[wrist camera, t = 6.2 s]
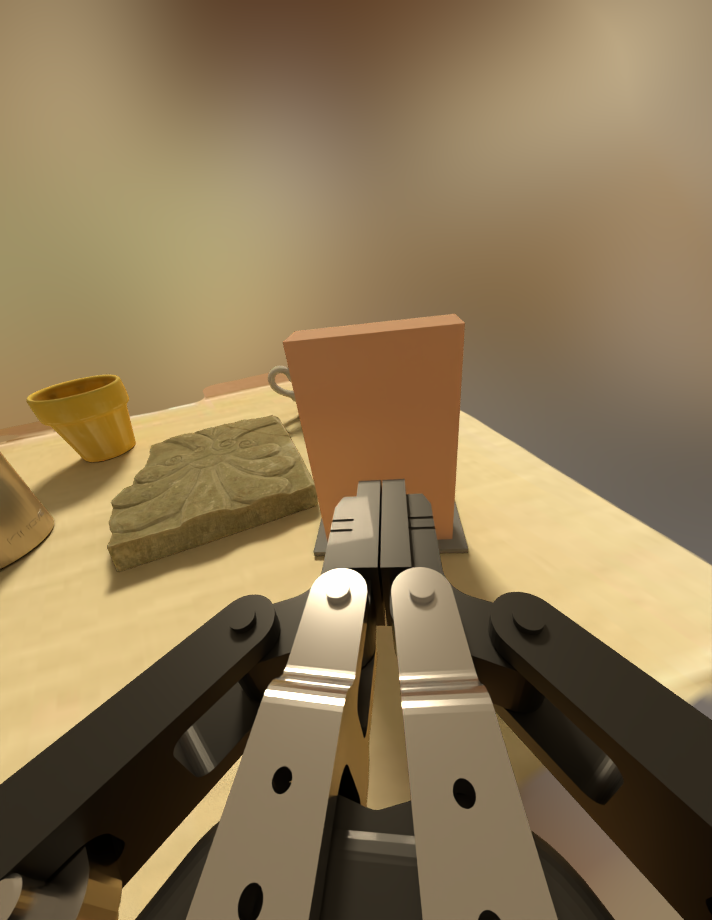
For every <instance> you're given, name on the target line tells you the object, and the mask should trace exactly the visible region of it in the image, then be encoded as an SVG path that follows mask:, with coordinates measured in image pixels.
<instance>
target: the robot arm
mask: <svg viewBox="0 0 712 920" xmlns="http://www.w3.org/2000/svg"><path fill="white" fill-rule="evenodd" d="M53 526H54V519H53V517H52V516H51V515H50V514H49V512H48V511H47V510H46V509H45V507H44V506H43V505H42V504H41V502H40V501H39V500H38V499H37V497H36V496H35V495H34V494H33V492H32V491H31V490H30V488H29V487H28V486H27V485H26V483H25V482H24V481H23V480H22V478H21V477H20V476H19V475H18V473H17V472H16V471H15V470H14V468H13V467H12V466H11V465H10V463H9V462H8V461H7V460H6V458H5V457H4V456H3V455H2V453H1V452H0V569H1V568H3V567H5V566H7V565H9V564H10V563H12V562H14V561H16V560H17V559H19V558H20V557H22V556H24V555H25V554H27V553H28V552H29V551H31V550H32V549H33V548H35V547H36V546H37V545H38V544H39V543H40V542H42V541H43V540H44V539H45V538H46V536H47V535H48V534H49V533H50V532H51V530H52V528H53ZM385 610H386V618H387V626H392V631H393V640H394V649H395V653H396V655H397V658H398V668H399V678H400V689H401V700H402V711H403V721H404V731H405V742H406V752H407V762H408V773H409V783H410V793H411V801H408V802H405V803H402V804H398V805H395V806H392V807H388V808H385V809H381V810H372V809H369V808H367V797H368V785H369V740H370V729H371V718H372V708H373V698H374V688H375V678H376V667H377V655H378V653H377V647H376V625H377V626H385ZM495 712H496V713H497V714H498V715H499V716H500V717H501V718H502V719H503V721H504V722H505V723H506V724H507V725H508V726H509V727H510V728H511V729H512V730H513V732H514V733H515V734H516V735H517V736H518V737H519V738H520V739H521V740H522V741H523V743H524V744H525V745H526V746H527V747H528V748H529V749H530V750H531V751H532V753H533V754H534V755H535V756H536V757H537V758H538V759H539V760H540V761H541V762H542V764H543V765H544V766H545V767H546V768H547V769H548V770H549V771H550V772H551V773H552V775H553V776H554V777H555V778H556V779H557V780H558V781H559V782H560V783H561V784H562V786H563V787H564V788H565V789H566V790H567V791H568V792H569V793H570V794H571V795H572V797H573V798H574V799H575V800H576V801H577V802H578V803H579V804H580V805H581V807H582V808H583V809H584V810H585V811H586V812H587V813H588V814H589V815H590V816H591V818H592V819H593V820H594V821H595V822H596V823H597V824H598V825H599V826H600V827H601V829H602V830H603V831H604V832H605V833H606V834H607V835H608V836H609V837H610V838H611V839H612V841H613V842H615V844H616V845H617V846H618V847H619V848H620V849H621V851H623V853H624V854H625V855H626V856H627V857H628V858H629V859H630V861H631V862H632V863H633V864H634V865H635V866H636V867H637V868H638V869H639V870H640V872H641V873H642V874H643V875H644V876H645V877H646V878H647V879H648V880H649V881H650V883H651V884H652V885H653V886H654V887H655V888H656V889H657V890H658V891H659V893H660V894H661V895H662V896H663V897H664V898H665V899H666V900H667V901H668V902H669V904H670V905H671V906H672V907H673V908H674V909H675V910H676V911H677V912H678V913H679V915H680V916H681V917H682V918H683V919H684V920H712V720H711V719H709V718H708V717H706V716H705V715H704V714H702V713H701V712H700V711H698V710H697V709H695V708H694V707H693V706H691V705H690V704H688V703H687V702H686V701H684V700H683V699H681V698H680V697H679V696H677V695H676V694H674V693H673V692H672V691H670V690H669V689H667V688H666V687H665V686H663V685H662V684H660V683H659V682H658V681H656V680H655V679H654V678H652V677H651V676H649V675H648V674H647V673H645V672H644V671H642V670H641V669H640V668H638V667H637V666H635V665H634V664H633V663H631V662H630V661H628V660H627V659H626V658H624V657H623V656H621V655H620V654H619V653H617V652H616V651H614V650H613V649H612V648H610V647H609V646H607V645H606V644H605V643H603V642H602V641H600V640H599V639H598V638H596V637H595V636H593V635H592V634H591V633H589V632H588V631H586V630H585V629H584V628H582V627H581V626H579V625H578V624H577V623H575V622H574V621H572V620H571V619H570V618H568V617H567V616H565V615H564V614H563V613H561V612H560V611H558V610H557V609H556V608H554V607H553V606H551V605H550V604H549V603H547V602H546V601H544V600H543V599H541V598H539V597H537V596H534V595H531V594H528V593H523V592H510V593H506V594H503V595H501V596H500V597H498V598H497V599H496V600H495V601H494V603H492V602H489V601H485V600H482V599H478V598H475V597H471V596H469V595H466V594H464V593H462V592H460V591H459V590H457V589H456V588H455V587H453V586H452V585H451V584H450V583H449V582H448V580H447V579H446V577H445V575H444V573H443V570H442V565H441V559H440V553H439V547H438V542H437V536H436V530H435V524H434V519H433V513H432V507H431V503H430V502H429V501H428V500H427V498H426V497H425V496H424V495H423V494H422V493H421V494H406V489H405V479H388V480H382V483H381V480H367V481H359V482H358V489H357V496H353V497H343V498H342V500H341V501H340V502H339V503H338V505H337V506H336V507H335V511H334V515H333V522H332V525H331V532H330V534H329V539H328V544H327V549H326V554H325V558H324V563H323V568H322V572H321V575H320V577H319V578H318V579H317V580H316V581H315V582H314V584H313V585H312V587H311V588H310V589H309V590H308V591H306V592H305V593H303V594H301V595H299V596H297V597H294V598H291V599H288V600H284V601H281V602H278V603H275V604H272V602H271V601H270V600H269V599H268V598H266V597H264V596H261V595H248V596H244V597H241V598H239V599H237V600H235V601H233V602H232V603H230V604H229V605H228V606H227V607H225V608H224V609H223V610H221V611H220V612H219V613H218V614H216V615H215V616H214V617H213V618H211V619H210V620H209V621H207V622H206V623H205V624H204V625H202V626H201V627H200V628H199V629H197V630H196V631H195V632H194V633H192V634H191V635H190V636H188V637H187V638H186V639H185V640H183V641H182V642H181V643H180V644H178V645H177V646H176V647H174V648H173V649H172V650H171V651H169V652H168V653H167V654H166V655H164V656H163V657H162V658H160V659H159V660H158V661H157V662H155V663H154V664H153V665H152V666H150V667H149V668H148V669H147V670H145V671H144V672H143V673H141V674H140V675H139V676H138V677H136V678H135V679H134V680H133V681H131V682H130V683H129V684H127V685H126V686H125V687H124V688H122V689H121V690H120V691H119V692H117V693H116V694H115V695H114V696H112V697H111V698H110V699H108V700H107V701H106V702H105V703H103V704H102V705H101V706H100V707H98V708H97V709H96V710H94V711H93V712H92V713H91V714H89V715H88V716H87V717H86V718H84V719H83V720H82V721H80V722H79V723H78V724H77V725H75V726H74V727H73V728H72V729H70V730H69V731H68V732H67V733H65V734H64V735H63V736H61V737H60V738H59V739H58V740H56V741H55V742H54V743H53V744H51V745H50V746H49V747H47V748H46V749H45V750H44V751H42V752H41V753H40V754H39V755H37V756H36V757H35V758H33V759H32V760H31V761H30V762H28V763H27V764H26V765H25V766H23V767H22V768H21V769H20V770H18V771H17V772H16V773H14V774H13V775H12V776H11V777H9V778H8V779H7V780H6V781H4V782H3V783H2V784H0V920H118V917H119V911H118V910H119V906H120V901H121V894H122V888H123V887H124V886H125V885H126V884H127V883H128V882H129V880H130V879H131V878H132V877H133V876H134V875H135V874H136V873H137V872H138V870H139V869H140V868H141V867H142V866H143V865H144V864H145V863H146V861H147V860H148V859H149V858H150V857H151V856H152V855H153V854H154V853H155V851H156V850H157V849H158V848H159V847H160V846H161V845H162V844H163V843H164V841H165V840H166V839H167V838H168V837H169V836H170V835H171V834H172V833H173V831H174V830H175V829H176V828H177V827H178V826H179V825H180V824H181V823H182V821H183V820H184V819H185V818H186V817H187V816H188V815H189V814H190V812H191V811H192V810H193V809H194V808H195V807H196V806H197V805H198V804H199V802H200V801H201V800H202V799H203V798H204V797H205V796H206V795H207V794H208V792H209V791H210V790H211V789H212V788H213V787H214V786H215V785H216V784H217V782H218V781H219V780H220V779H221V778H222V777H223V776H224V775H225V773H226V772H227V771H228V770H229V769H230V768H231V767H232V766H233V765H234V763H235V762H236V761H237V760H238V759H239V758H240V757H241V756H242V755H243V756H242V759H241V762H240V765H239V767H238V770H237V773H236V776H235V779H234V782H233V785H232V788H231V791H230V793H229V796H228V799H227V802H226V805H225V808H224V811H223V814H222V816H221V819H220V821H219V822H218V823H217V824H216V825H214V826H213V827H212V828H211V829H210V830H209V831H208V832H207V833H206V834H205V835H204V836H203V837H202V838H201V839H200V840H199V841H198V842H197V844H196V845H195V846H194V847H193V848H192V850H191V851H190V852H189V853H188V854H187V856H186V857H185V858H184V859H183V861H182V862H181V863H180V864H179V866H178V867H177V868H176V869H175V871H174V872H173V873H172V874H171V876H170V877H169V878H168V879H167V881H166V882H165V883H164V884H163V885H162V887H161V888H160V889H159V890H158V892H157V893H156V894H155V895H154V897H153V898H152V899H151V900H150V902H149V903H148V904H147V905H146V907H145V908H144V909H143V910H142V912H141V913H140V914H139V915H138V917H137V918H136V919H135V920H615V919H614V918H613V917H612V915H611V914H610V913H609V912H608V910H607V909H606V908H605V906H604V905H603V904H602V902H601V901H600V900H599V898H598V897H597V896H596V895H595V893H594V892H593V891H592V889H591V888H590V887H589V886H588V884H587V883H586V882H585V881H584V879H583V878H582V877H581V876H580V875H579V874H578V873H577V872H576V871H575V869H573V867H572V866H571V865H570V864H569V863H568V862H567V861H566V860H565V859H564V858H563V857H562V856H561V855H560V854H559V853H558V852H557V851H556V850H555V849H553V848H552V847H551V846H550V845H549V844H548V843H547V842H546V841H544V840H543V839H542V838H540V837H539V836H538V835H536V834H535V833H534V832H533V831H531V829H530V826H529V823H528V819H527V816H526V813H525V809H524V806H523V803H522V799H521V796H520V793H519V789H518V786H517V783H516V779H515V776H514V773H513V770H512V766H511V763H510V760H509V756H508V753H507V750H506V746H505V743H504V740H503V736H502V733H501V730H500V726H499V723H498V720H497V716H496V713H495Z"/></svg>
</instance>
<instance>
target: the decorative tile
mask: <svg viewBox="0 0 712 920" xmlns="http://www.w3.org/2000/svg"><path fill="white" fill-rule="evenodd" d="M111 504H112V507H113V510H112V515H111V517H110V520H109V526H110V530H111V532H112V536H111V539H110V542H109V543H108V545H107V549H108V550H109V553H110V555H111V557H112V560H113V563H114V565H115V567H116V571H117V572H120V571H123V570H127V569H130V568H133V567H136V566H139V565H142V564H145V563H148V562H151V561H154V560H157V559H160V558H163V557H166V556H169V555H172V554H175V553H179V552H182V551H185V550H188V549H191V548H194V547H197V546H200V545H203V544H206V543H209V542H212V541H215V540H218V539H220V538H223V537H226V536H229V535H232V534H235V533H238V532H241V531H244V530H247V529H250V528H253V527H256V526H259V525H262V524H265V523H268V522H270V521H273V520H276V519H279V518H282V517H285V516H288V515H291V514H293V513H296V512H299V511H302V510H305V509H308V508H311V507H314V506H316V505H317V504H318V498H317V493H316V489H315V484H314V481H313V479H312V477H311V475H310V473H309V471H308V469H307V467H306V465H305V463H304V461H303V459H302V457H301V455H300V453H299V452H298V450H297V448H296V446H295V444H294V443H293V441H292V439H291V437H290V435H289V434H288V432H287V430H286V429H285V427H284V426H283V424H282V422H281V421H280V419H279V418H278V417H275V416H273V415H271V416H267V417H263V418H257V419H249V420H241V421H238V422H235V423H229V424H224V425H221V426H216V427H211V428H207V429H203V430H201V431H197V432H195V433H188V434H183V435H179V436H175V437H172V438H170V439H168V440H165V441H164V442H162V443H158V444H155V445H152V446H151V449H150V456H149V458H148V461H147V464H146V465H145V468H143V469H142V470H141V471H140V472H139V473H138V474H137V475H136V476H135V478H134V482H133V485H132V486H129V487H127V488H124V489H123V490H122V491H121V492H120V493H119V494H118V495H117V496H116V497H115V498H114V499H113V500H112V502H111Z"/></svg>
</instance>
